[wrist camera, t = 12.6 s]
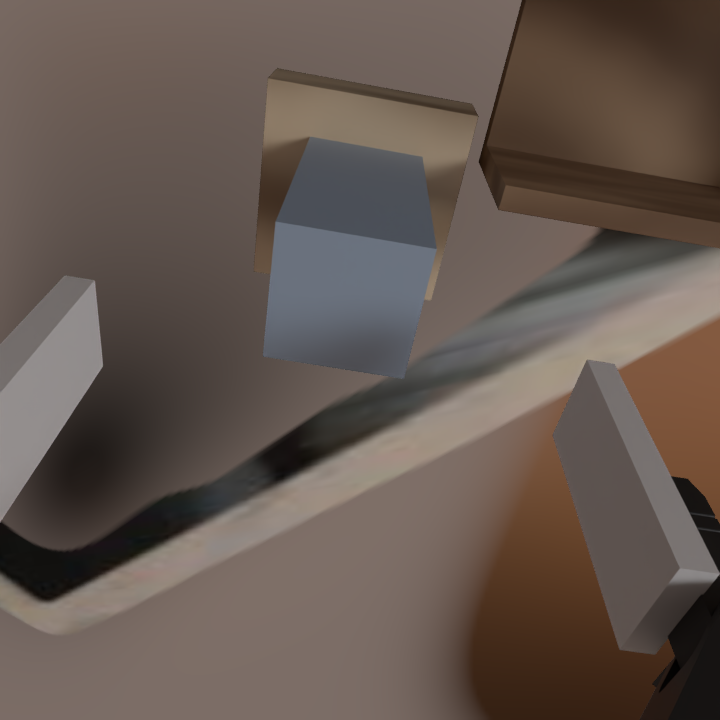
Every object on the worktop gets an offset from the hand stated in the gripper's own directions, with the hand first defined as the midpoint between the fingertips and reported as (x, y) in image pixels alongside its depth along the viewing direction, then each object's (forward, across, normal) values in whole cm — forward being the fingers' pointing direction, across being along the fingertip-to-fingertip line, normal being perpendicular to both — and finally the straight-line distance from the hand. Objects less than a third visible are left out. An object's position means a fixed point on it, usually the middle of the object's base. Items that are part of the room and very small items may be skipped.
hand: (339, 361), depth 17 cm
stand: (+16, 0, -1) cm, 16 cm away
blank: (+14, 0, -1) cm, 14 cm away
